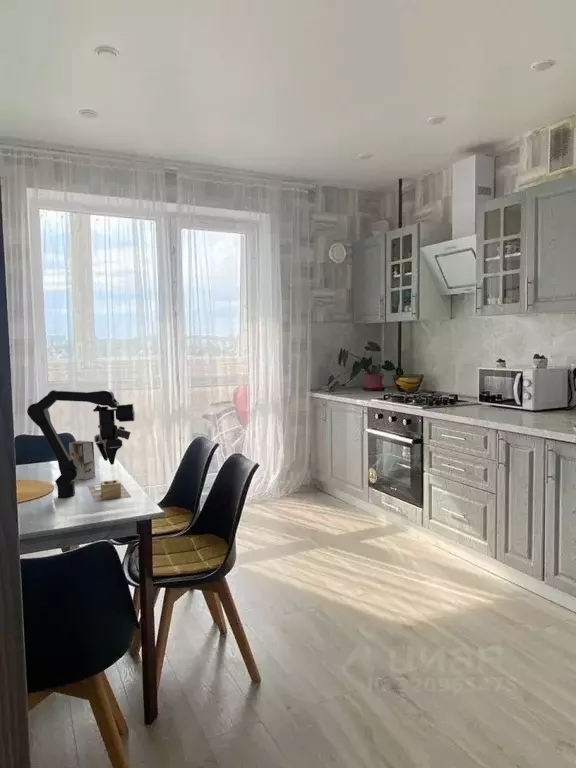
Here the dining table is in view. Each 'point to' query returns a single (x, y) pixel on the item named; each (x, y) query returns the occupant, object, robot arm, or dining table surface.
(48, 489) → the dining table surface
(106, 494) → the collar
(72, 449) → the coffee box
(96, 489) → the board
